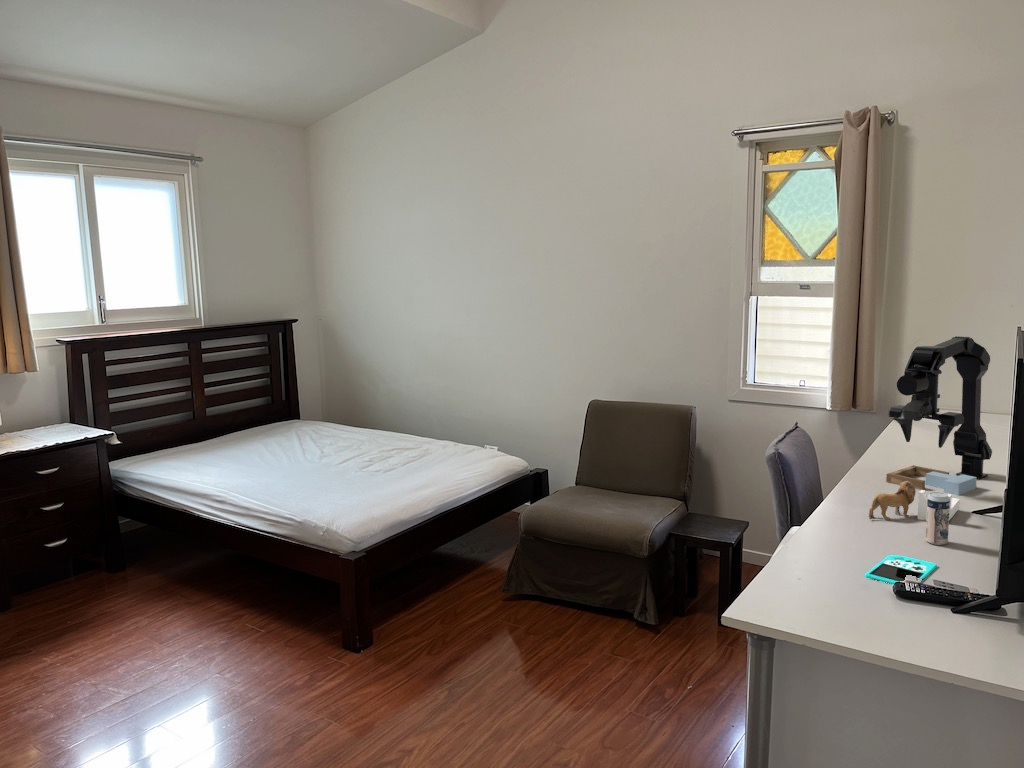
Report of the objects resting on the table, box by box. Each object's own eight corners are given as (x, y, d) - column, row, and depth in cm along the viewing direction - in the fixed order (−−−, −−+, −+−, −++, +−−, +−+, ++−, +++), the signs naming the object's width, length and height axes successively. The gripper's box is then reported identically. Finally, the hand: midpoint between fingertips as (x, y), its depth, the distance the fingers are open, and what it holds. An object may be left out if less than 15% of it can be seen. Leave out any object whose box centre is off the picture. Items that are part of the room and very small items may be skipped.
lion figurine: (903, 509, 205) (905, 478, 203) (920, 515, 200) (921, 482, 198) (862, 518, 200) (863, 485, 198) (878, 524, 195) (879, 490, 193)
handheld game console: (938, 569, 167) (938, 563, 167) (913, 592, 156) (913, 586, 156) (890, 557, 174) (891, 552, 174) (863, 579, 163) (863, 573, 163)
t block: (937, 480, 229) (938, 469, 229) (976, 488, 220) (976, 477, 219) (920, 487, 224) (920, 475, 223) (958, 495, 215) (958, 483, 214)
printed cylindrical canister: (939, 547, 178) (942, 499, 176) (920, 541, 182) (922, 493, 180) (952, 543, 180) (954, 495, 178) (933, 537, 184) (935, 490, 182)
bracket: (948, 525, 193) (949, 496, 191) (917, 520, 197) (918, 492, 196) (959, 511, 202) (960, 484, 201) (929, 506, 207) (931, 480, 206)
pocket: (913, 472, 238) (913, 465, 238) (948, 480, 229) (949, 472, 228) (886, 481, 230) (886, 474, 230) (922, 489, 221) (922, 481, 220)
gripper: (878, 390, 216) (876, 443, 218) (944, 398, 200) (942, 455, 203) (900, 386, 222) (898, 437, 224) (966, 393, 206) (963, 448, 209)
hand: (923, 444), depth 215 cm, fingers open, 9 cm apart
